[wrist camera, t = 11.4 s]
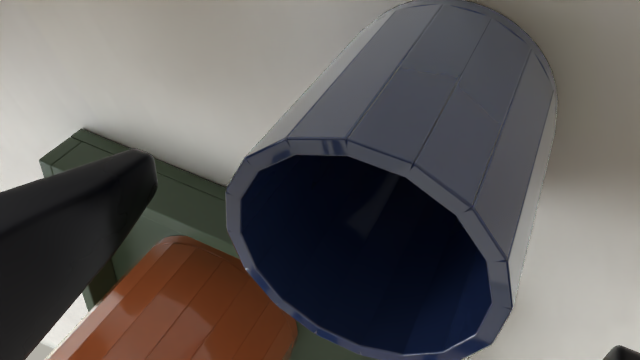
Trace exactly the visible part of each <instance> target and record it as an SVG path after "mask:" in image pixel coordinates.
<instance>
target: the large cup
mask: <svg viewBox="0 0 640 360" xmlns="http://www.w3.org/2000/svg"><path fill="white" fill-rule="evenodd" d="M297 338H298V329H297V324H296V320H295V319H294V318H292V317H291V316H290V315H288V314H287V313H286V312H284V311H283V310H282V309H280V308H279V307H278V306H276V304H274V303H273V302H272V301H271V299H270V298H269V297H268V296H267V295H266V294H265V292H264V291H263V290H262V289H261V288H260V287H259V285H258V284H257V283H256V282H255V281H254V280H253V278H252V277H251V276H250V275H249V274H248V273H247V271H246V270H245V268H244V267H243V265H242V263H241V261H240V259H238V258H236V257H233V256H231V255H229V254H227V253H224V252H222V251H220V250H218V249H215V248H213V247H211V246H209V245H206V244H204V243H202V242H200V241H197V240H195V239H193V238H191V237H188V236H183V235H176V236H169V237H165V238H163V239H161V240H159V241H157V242H156V243H155V244H154V245H153V246H152V247H151V248H150V249H149V250H148V251H147V252H145V253H144V254H143V255H142V256H141V257H140V258H139V260H138V261H137V262H136V263H135V264H134V265H133V266H132V267H131V268H130V269H129V270H128V271H127V272H126V273H125V274H124V275H123V277H122V278H121V279H120V280H119V281H118V282H117V283H116V284H115V285H114V286H113V287H112V288H111V289H110V290H109V291H108V292H107V294H106V295H105V296H104V297H103V298H102V299H101V300H100V301H99V302H98V303H97V304H96V305H95V306H94V307H93V308H92V309H91V310H90V312H89V313H88V314H87V315H86V316H85V317H84V318H83V319H82V320H81V321H80V322H79V323H78V324H77V325H76V326H75V327H74V329H73V330H72V331H71V332H70V333H69V334H68V335H67V336H66V337H65V338H64V339H63V340H62V341H61V342H60V343H59V344H58V346H57V347H56V348H55V349H54V350H53V351H52V352H51V353H50V354H49V355H48V356H47V357H46V358H45V359H44V360H289V358H290V356H291V354H292V350H293V349H294V347H295V345H296V342H297Z"/></svg>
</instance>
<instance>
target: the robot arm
mask: <svg viewBox="0 0 640 360" xmlns="http://www.w3.org/2000/svg"><path fill="white" fill-rule="evenodd" d="M157 188H158V180H157V173H156V166H155V160H154V157H153V156H152V155H151V154H149V153H146V152H144V151H141V150H139V149H130V150H127V151H124V152H121V153H118V154H115V155H112V156H109V157H106V158H103V159H100V160H97V161H94V162H91V163H88V164H85V165H82V166H79V167H76V168H73V169H70V170H67V171H64V172H61V173H58V174H55V175H52V176H49V177H46V178H43V179H40V180H37V181H34V182H31V183H28V184H25V185H22V186H19V187H16V188H13V189H10V190H7V191H4V192H1V193H0V360H25V359H26V358H27V357H28V355H29V354H30V353H31V352H32V351H33V350H34V348H35V347H36V346H37V345H38V344H39V342H40V341H41V340H42V339H43V338H44V337H45V335H46V334H47V333H48V332H49V331H50V330H51V328H52V327H53V326H54V325H55V324H56V322H57V321H58V320H59V319H60V318H61V317H62V315H63V314H64V313H65V312H66V311H67V309H68V308H69V307H70V306H71V305H72V304H73V302H74V301H75V300H76V299H77V298H78V296H79V295H80V294H81V293H82V292H83V291H84V289H85V288H86V287H87V286H88V285H89V284H90V282H91V281H92V280H93V279H94V278H95V276H96V275H97V274H98V273H99V272H100V271H101V269H102V268H103V267H104V266H105V265H106V263H107V262H108V261H109V260H110V259H111V257H112V256H113V255H114V254H115V252H116V251H117V250H118V248H119V247H120V246H121V244H122V243H123V241H124V240H125V238H126V237H127V235H128V234H129V232H130V231H131V230H132V228H133V227H134V225H135V224H136V222H137V221H138V219H139V218H140V216H141V215H142V213H143V212H144V210H145V209H146V207H147V206H148V204H149V203H150V201H151V200H152V199H153V197H154V195H155V194H156V191H157ZM603 360H640V353H638V352H636V351H633V350H631V349H628V348H626V347H623V346H620V345H618V346H615V347H614V348H612V349H611V351H610V352H609V353H608V354H607V355H606V357H605V358H604V359H603Z"/></svg>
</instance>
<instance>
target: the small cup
mask: <svg viewBox="0 0 640 360" xmlns="http://www.w3.org/2000/svg"><path fill="white" fill-rule="evenodd" d="M557 108H558V97H557V89H556V84H555V80H554V77H553V73H552V71H551V69H550V66H549V64H548V62H547V60H546V58H545V56H544V55H543V53H542V52H541V50H540V49H539V47H538V46H537V45H536V43H535V42H534V41H533V40H532V39H531V38H530V36H529V35H528V34H527V33H526V32H525V31H523V30H522V29H521V28H520V27H519V26H518V25H517V24H515V23H514V22H512V21H511V20H509V19H508V18H506V17H505V16H503V15H502V14H500V13H498V12H496V11H494V10H492V9H490V8H488V7H485V6H482V5H479V4H476V3H473V2H469V1H464V0H416V1H411V2H408V3H405V4H402V5H399V6H397V7H395V8H393V9H391V10H389V11H387V12H385V13H384V14H382V15H381V16H379V17H378V18H376V19H375V20H374V21H373V22H372V23H371V24H370V25H369V26H367V27H366V28H364V29H362V31H360V32H359V33H358V35H357V36H356V37H355V38H354V39H353V40H352V41H351V42H350V43H349V44H348V45H347V47H346V48H345V49H344V50H343V51H342V52H341V53H340V54H339V55H338V56H337V57H336V58H335V60H334V61H333V62H332V63H331V64H330V65H329V66H328V67H327V68H326V69H325V70H324V72H323V73H322V74H321V75H320V76H319V77H318V78H317V79H316V80H315V81H314V82H313V84H312V85H311V86H310V87H309V88H308V89H307V90H306V91H305V92H304V93H303V94H302V95H301V97H300V98H299V99H298V100H297V101H296V102H295V103H294V104H293V105H292V106H291V107H290V109H289V110H288V111H287V112H286V113H285V114H284V115H283V116H282V117H281V118H280V119H279V121H278V122H277V123H276V124H275V125H274V126H273V127H272V128H271V129H270V130H269V131H268V132H267V134H266V135H265V136H264V137H263V138H262V139H261V140H260V141H259V142H258V143H257V144H256V146H255V147H254V148H253V149H252V150H251V151H250V152H249V153H248V154H247V155H246V156H245V158H244V159H243V161H242V162H241V164H240V166H239V168H238V169H237V171H236V173H235V174H234V176H233V178H232V179H231V181H230V183H229V185H228V186H227V188H226V192H225V199H226V229H227V232H228V234H229V236H230V239H231V241H232V243H233V245H234V247H235V250H236V252H237V254H238V256H239V258H240V261H241V263H242V265H243V267H244V268H245V270H246V271H247V273H248V274H249V275H250V276H251V277H252V278H253V280H254V281H255V282H256V283H257V284H258V285H259V287H260V288H261V289H262V290H263V291H264V292H265V294H266V295H267V296H268V297H269V298H270V299H271V301H272V302H273V303H274V304H276V306H278V307H279V308H280V309H282V310H283V311H284V312H286V313H287V314H288V315H290V316H291V317H292V318H294V319H295V320H296V321H298V322H299V323H300V324H302V325H303V326H304V327H306V328H307V329H308V330H310V331H311V332H312V333H315V334H316V335H318V336H320V337H322V338H324V339H326V340H328V341H330V342H333V343H335V344H337V345H339V346H341V347H343V348H346V349H348V350H350V351H352V352H354V353H356V354H358V355H360V354H361V355H362V356H365V357H370V358H374V359H379V360H463V359H465V358H467V357H469V356H471V355H473V354H475V353H477V352H479V351H481V350H483V349H485V348H487V347H489V346H491V345H492V344H493V343H494V342H495V340H496V338H497V337H498V335H499V333H500V331H501V330H502V328H503V326H504V324H505V323H506V321H507V319H508V317H509V316H510V314H511V312H512V311H513V308H514V303H515V299H516V295H517V291H518V287H519V283H520V278H521V274H522V270H523V266H524V262H525V257H526V253H527V249H528V245H529V241H530V236H531V232H532V228H533V224H534V220H535V216H536V211H537V207H538V203H539V199H540V195H541V190H542V186H543V182H544V178H545V174H546V169H547V165H548V161H549V157H550V153H551V149H552V144H553V140H554V136H555V131H556V117H557Z"/></svg>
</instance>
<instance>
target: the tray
mask: <svg viewBox="0 0 640 360" xmlns="http://www.w3.org/2000/svg"><path fill="white" fill-rule="evenodd" d="M127 150H130V148H127V147H125V146H123V145H120V144H118V143H115V142H113V141H110V140H108V139H106V138H103V137H101V136H98V135H96V134H93V133H91V132H88V131H86V130H84V129H80V130H79V131H77V132H76V133H75V134H73V135H72V136H71V138H68V139H67V140H65V141H64V142H63V143H61V144H60V145H59V146H57V147H56V148H55V149H53V150H52V151H50V152H49V153H48V154H46V155H45V156H44V157H42V158H41V159H40V160H39V163H40V166H41V169H42V172H43V175H44V178H46V177H49V176H52V175H55V174H58V173H61V172H64V171H67V170H70V169H73V168H76V167H79V166H82V165H85V164H88V163H91V162H94V161H97V160H100V159H103V158H106V157H109V156H112V155H115V154H118V153H121V152H124V151H127ZM154 160H155V166H156V173H157V180H158V188H157V191H156V194H155V195H154V197H153V199H152V200H151V201H150V203H149V204H148V206H147V207H146V209H145V210H144V212H143V213H142V215H141V216H140V218H139V219H138V221H137V222H136V224H135V225H134V227H133V228H132V230H131V231H130V232H129V234H128V235H127V237H126V238H125V240H124V241H123V243H122V244H121V246H120V247H119V248H118V250H117V251H116V252H115V254H114V255H113V256H112V257H111V259H110V260H109V261H108V262H107V263H106V265H105V266H104V267H103V268H102V269H101V271H100V272H99V273H98V274H97V275H96V276H95V278H94V279H93V280H92V281H91V282H90V284H89V285H88V286H87V287H86V288H85V289H84V291H83V292H82V294H83V297H84V300H85V303H86V306H87V309H88V312H90V310H91V309H92V308H93V307H94V306H95V305H96V304H97V303H98V302H99V301H100V300H101V299H102V298H103V297H104V296H105V295H106V294H107V292H108V291H109V290H110V289H111V288H112V287H113V286H114V285H115V284H116V283H117V282H118V281H119V280H120V279H121V278H122V277H123V275H124V274H125V273H126V272H127V271H128V270H129V269H130V268H131V267H132V266H133V265H134V264H135V263H136V262H137V261H138V260H139V258H140V257H141V256H142V255H143V254H144V253H145V252H147V251H148V250H149V249H150V248H151V247H152V246H153V245H154V244H155V243H156V242H157V241H159V240H161V239H163V238H165V237H169V236H176V235H183V236H188V237H191V238H193V239H195V240H197V241H200V242H202V243H204V244H206V245H209V246H211V247H213V248H215V249H218V250H220V251H222V252H224V253H227V254H229V255H231V256H233V257H236V258H238V259H240V258H239V256H238V254H237V252H236V250H235V247H234V245H233V243H232V241H231V239H230V236H229V234H228V232H227V229H226V199H225V192H226V188H225V187H223V186H220V185H218V184H215V183H213V182H210V181H208V180H206V179H203V178H201V177H198V176H196V175H193V174H191V173H188V172H186V171H184V170H181V169H179V168H176V167H174V166H171V165H169V164H167V163H164V162H162V161H159V160H157V159H154ZM296 324H297V329H298V338H297V342H296V345H295V347H294V349H293V350H292V354H291V356H290V358H289V360H379V359H374V358H370V357H365V356H362V355H361V354H360V355H358V354H356V353H354V352H352V351H350V350H348V349H346V348H343V347H341V346H339V345H337V344H335V343H333V342H330V341H328V340H326V339H324V338H322V337H320V336H318V335H316V334H315V333H312V332H311V331H310V330H308V329H307V328H306V327H304V326H303V325H302V324H300V323H299V322H298V321H296Z"/></svg>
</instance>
